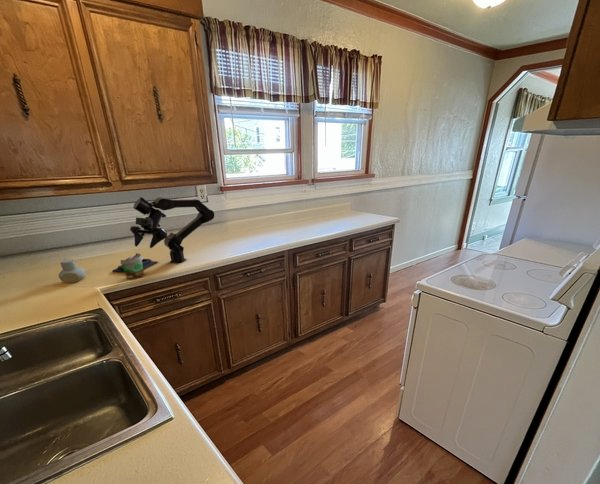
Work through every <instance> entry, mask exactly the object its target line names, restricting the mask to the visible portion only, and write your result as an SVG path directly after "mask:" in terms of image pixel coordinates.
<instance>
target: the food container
mask: <svg viewBox="0 0 600 484" xmlns="http://www.w3.org/2000/svg"><path fill="white" fill-rule="evenodd" d="M143 259H144V258H143V256H142V254H141V253H139V252H135V255H133V256H129V257H127V258H126V259H120V265H122V266H123V269H124V271H125V273H124V274H125V277H126V279H127V280H136V279H139V278H142V277H145V273H144V271H145V270H143V265H142V260H143Z"/></svg>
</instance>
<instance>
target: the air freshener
mask: <svg viewBox="0 0 600 484" xmlns="http://www.w3.org/2000/svg"><path fill="white" fill-rule="evenodd" d="M59 263H60V266H61V269H62V270H61V271H60V272H59V273H58V279H59V280H60V281H62V282H64V283H68V284H74V283H78V282H79V281H82V280H83V279H85V278H86V275H87V273H86V270H84V269H83V268H82V267H78V265H77V263H76V260H75V258H67V259H63V260H61V261H59Z"/></svg>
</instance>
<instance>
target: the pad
mask: <svg viewBox="0 0 600 484" xmlns="http://www.w3.org/2000/svg"><path fill="white" fill-rule="evenodd" d="M156 264H158V261H155V260H152V259H150V258H143V260H142V265H143V271H145V270H146V269H148V268H150V267H152V266H154V265H156ZM112 272H113V273H124V274H125V271H124V269H123V266H122V264H120V265H118V266H117V268H114V269H112Z"/></svg>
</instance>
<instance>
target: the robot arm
mask: <svg viewBox="0 0 600 484" xmlns="http://www.w3.org/2000/svg"><path fill="white" fill-rule="evenodd" d="M132 208H133V209H134V211H137V212H139V213H140V214H142V215H143V216H145V217H138V216H137V217H135V225H132V226H130V229H129V231H130V232H131V233H132V234H133V236H134V246H135V247H138V246H139V245H140V243H141V242H142V241H143V239H144V236H145V234H146V235H152V238H151V241H150V244H149V248H150V249H152V248H154V247H155V246H156V245H157V244H159V243H160V242H161V241H163V244H164V246H165V247H166V248H168V250H169V256H170V261H169V262H170V263H172V264H173V263H175V264H181V263H183V262H185V261H187V258H185V255H184V254H185V253H184V249H185V248H184V246H182V245H181V244H182V243H183V241H184V240H185V239H186V238H187V237H188V236H190V234H192V233H193V232H194V231H196V230H197V229H199V227H201V226H202V225H203V224H207V223H209V222H211V221H213V220H214V219H215V212H214V211H213V210H212V209H211V208H209V207H207V206H206V205H205V204H204V203H202V202H201V200H200V199H197V198H193V199H170V198H165V197H157V198H155V199H154V200H153V201H151V202H149V201H148V200H146V199H145V198H144V197H142V196H139V198H138V199H137V200H136V201H135V202H134V204H133V207H132ZM176 208H195V210H196V211H197V212H198V213H197V215H196V217H195V218H194V219H192V221H190V222H189V223H188V224H186V225H185V226H184V227H183V228H181V229H180V230H179V231H178V232H176V233H175V232H169V234H168V233H167V232H166V231H165V229H163V228H162V227H161V224H160V222H161V219H164V218H166V217H167V214H166V212H165V211H169V210H173V209H176ZM146 215H148V216H146ZM136 225H137V226H136ZM138 225H139V226H138Z"/></svg>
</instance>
